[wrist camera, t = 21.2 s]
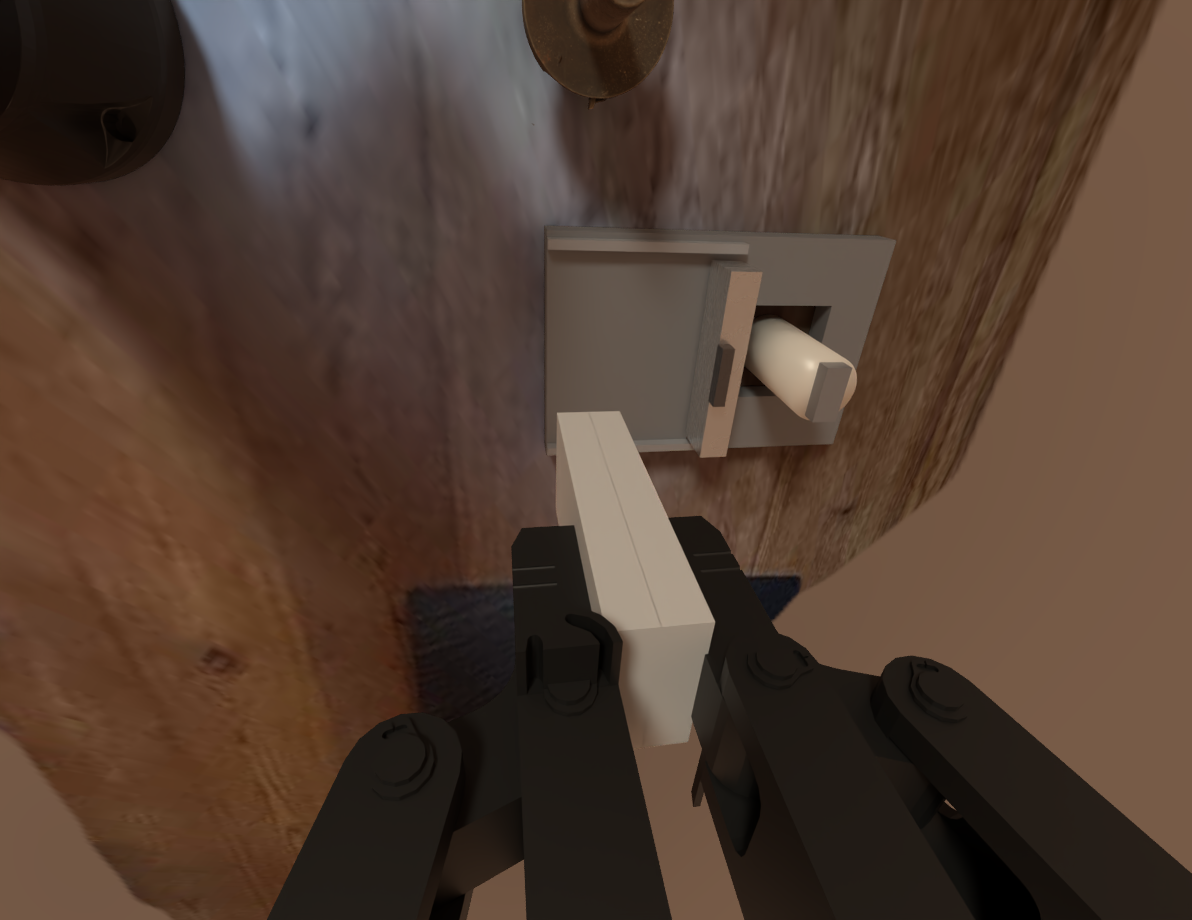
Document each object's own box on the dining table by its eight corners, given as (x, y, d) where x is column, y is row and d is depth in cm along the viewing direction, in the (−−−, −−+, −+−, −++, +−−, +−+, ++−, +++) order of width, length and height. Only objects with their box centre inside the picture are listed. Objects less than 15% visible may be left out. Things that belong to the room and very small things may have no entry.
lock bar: (684, 435, 42) (703, 464, 38) (710, 260, 35) (736, 275, 31) (709, 434, 42) (730, 463, 38) (740, 260, 36) (769, 275, 32)
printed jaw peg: (731, 369, 42) (790, 428, 34) (741, 314, 40) (808, 361, 31) (783, 369, 43) (853, 426, 34) (796, 314, 41) (875, 361, 32)
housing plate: (544, 442, 43) (547, 460, 40) (544, 225, 35) (547, 232, 32) (820, 432, 47) (837, 448, 44) (878, 235, 39) (903, 242, 36)
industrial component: (543, -100, 27) (572, -243, 17) (669, -29, 29) (763, -117, 19) (495, 108, 31) (495, 95, 21) (609, 157, 33) (659, 166, 23)
